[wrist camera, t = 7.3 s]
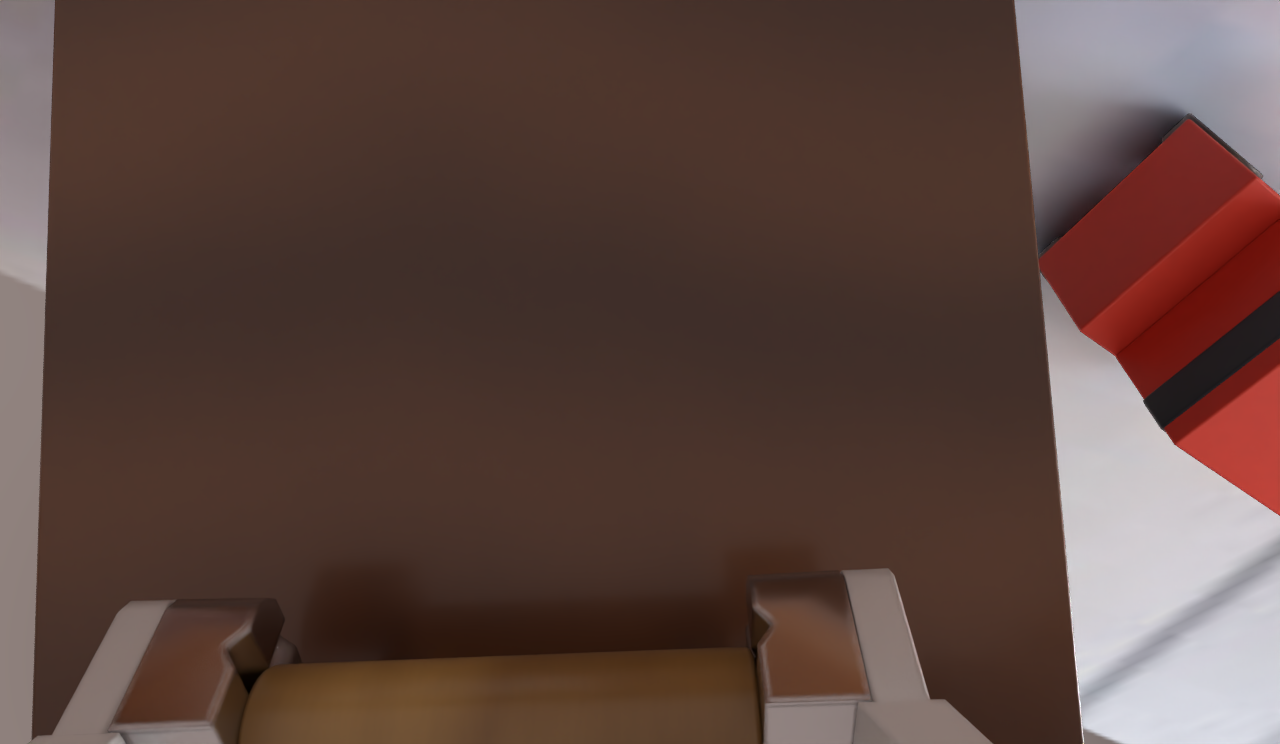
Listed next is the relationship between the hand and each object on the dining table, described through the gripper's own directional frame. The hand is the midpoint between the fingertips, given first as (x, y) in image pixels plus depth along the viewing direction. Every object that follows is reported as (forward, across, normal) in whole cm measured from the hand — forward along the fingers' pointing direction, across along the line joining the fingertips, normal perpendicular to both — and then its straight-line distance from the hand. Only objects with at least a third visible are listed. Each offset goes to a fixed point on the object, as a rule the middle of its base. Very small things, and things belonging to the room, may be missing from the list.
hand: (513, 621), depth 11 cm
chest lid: (+5, 0, -1) cm, 5 cm away
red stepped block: (+18, -17, +6) cm, 25 cm away
